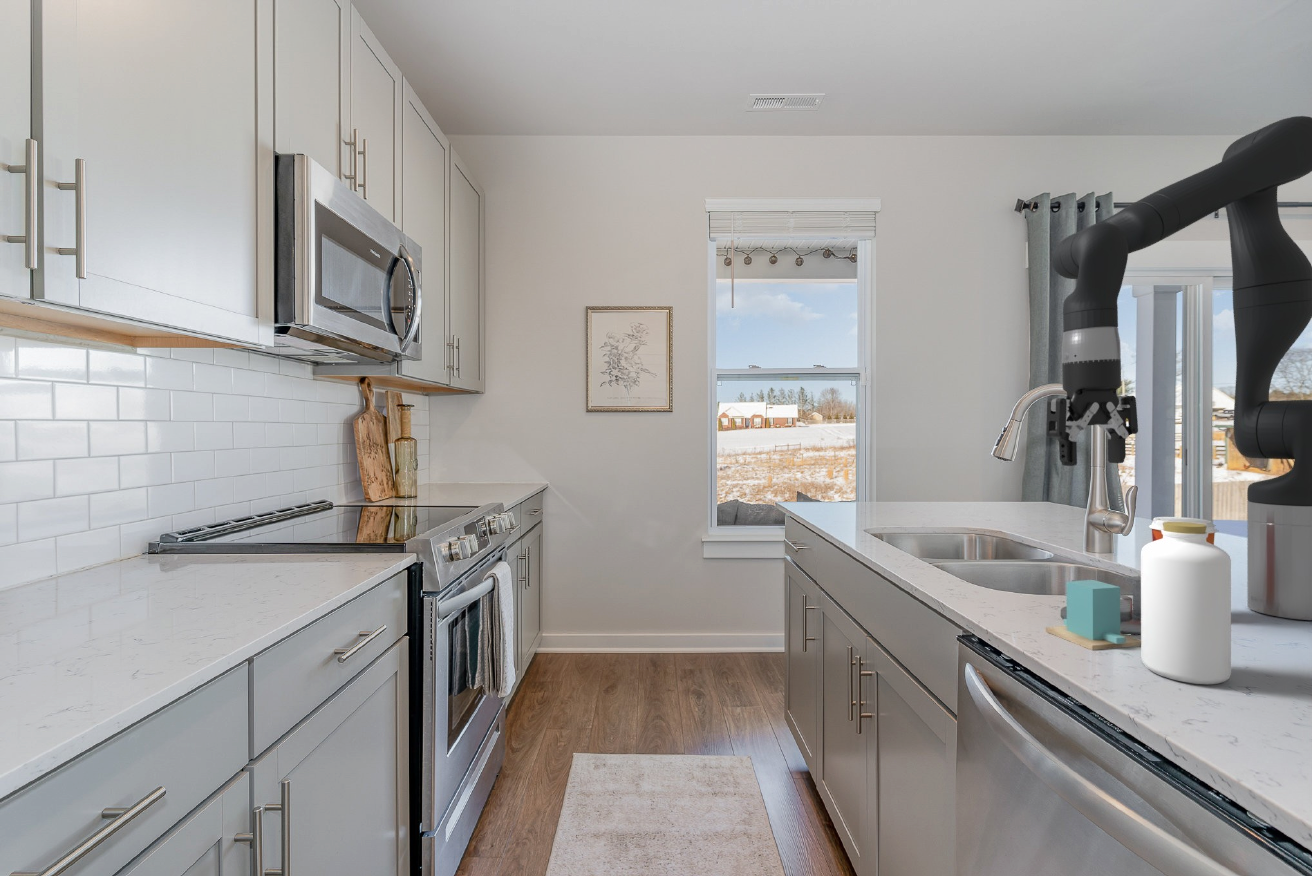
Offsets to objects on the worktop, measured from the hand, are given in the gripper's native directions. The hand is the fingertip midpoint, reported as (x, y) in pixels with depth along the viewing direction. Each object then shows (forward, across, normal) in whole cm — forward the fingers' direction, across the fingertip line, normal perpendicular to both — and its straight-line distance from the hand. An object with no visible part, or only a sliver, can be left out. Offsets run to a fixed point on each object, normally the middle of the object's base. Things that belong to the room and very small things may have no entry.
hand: (1093, 464), depth 100 cm
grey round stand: (+24, 0, -3) cm, 24 cm away
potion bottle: (+24, -10, -22) cm, 34 cm away
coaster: (+24, -9, -9) cm, 27 cm away
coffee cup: (+24, +13, -3) cm, 28 cm away
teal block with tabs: (+23, -9, -9) cm, 26 cm away
